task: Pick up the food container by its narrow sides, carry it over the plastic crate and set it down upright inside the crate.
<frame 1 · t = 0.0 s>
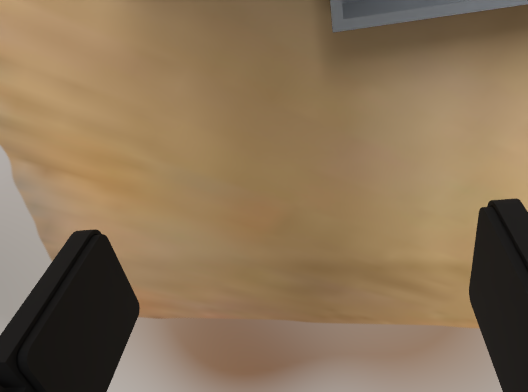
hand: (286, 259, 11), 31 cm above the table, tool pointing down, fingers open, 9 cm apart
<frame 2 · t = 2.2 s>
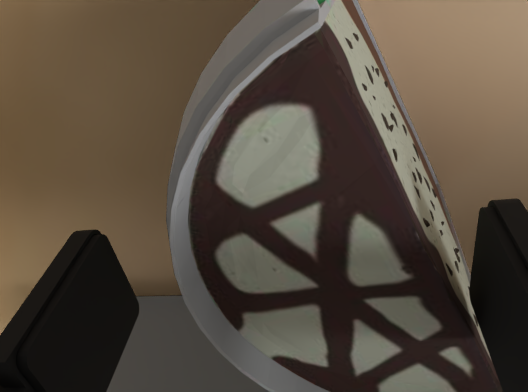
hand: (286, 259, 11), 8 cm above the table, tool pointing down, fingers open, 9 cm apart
food container: (324, 122, 18), on the table
crate: (245, 391, 30), on the table
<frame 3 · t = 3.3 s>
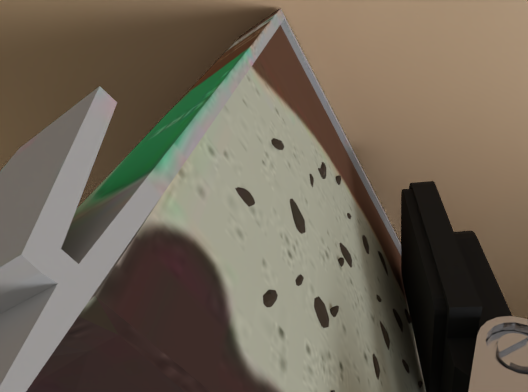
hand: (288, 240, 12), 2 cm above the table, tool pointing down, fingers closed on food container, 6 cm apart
food container: (265, 197, 14), on the table, touching gripper
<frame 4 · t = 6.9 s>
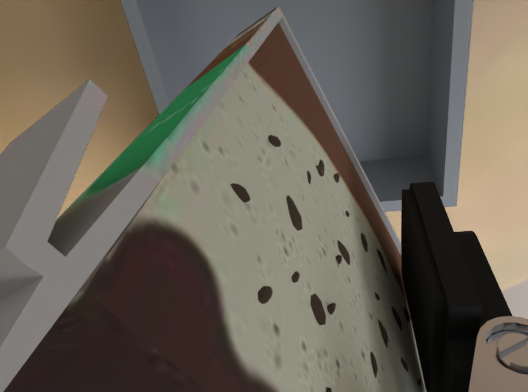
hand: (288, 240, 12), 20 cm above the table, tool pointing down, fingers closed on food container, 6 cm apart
food container: (264, 196, 14), point 18 cm above the table, touching gripper
crate: (303, 43, 28), on the table
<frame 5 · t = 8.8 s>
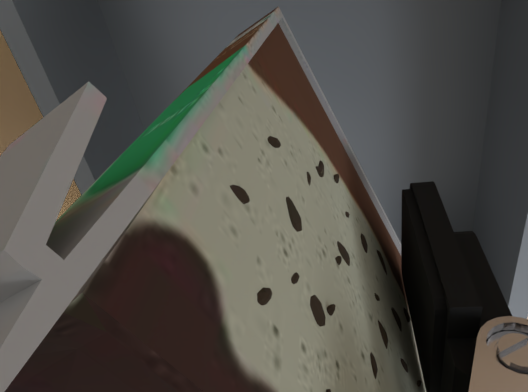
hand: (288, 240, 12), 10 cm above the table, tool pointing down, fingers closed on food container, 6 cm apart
food container: (264, 196, 14), point 8 cm above the table, touching gripper
crate: (304, 95, 20), on the table
when the fingers open (4 cm above the table, at t = 10.4 s): food container drops 1 cm, resting on crate.
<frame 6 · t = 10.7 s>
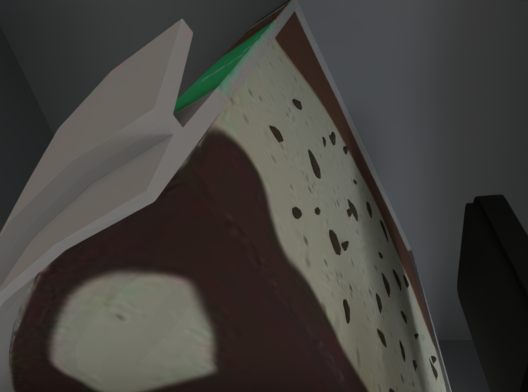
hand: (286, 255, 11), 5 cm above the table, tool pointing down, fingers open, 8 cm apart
food container: (274, 175, 15), point 1 cm above the table, touching crate
crate: (294, 162, 15), on the table
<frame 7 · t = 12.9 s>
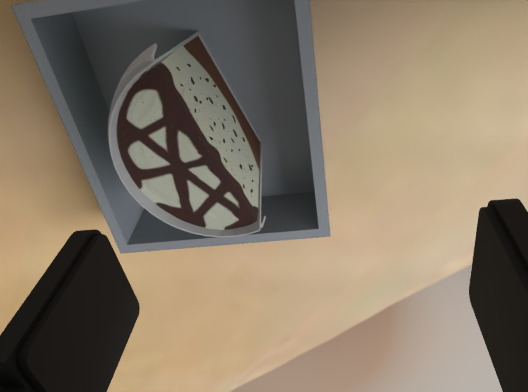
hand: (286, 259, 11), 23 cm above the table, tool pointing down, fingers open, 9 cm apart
food container: (197, 106, 33), point 1 cm above the table, touching crate
crate: (208, 101, 34), on the table
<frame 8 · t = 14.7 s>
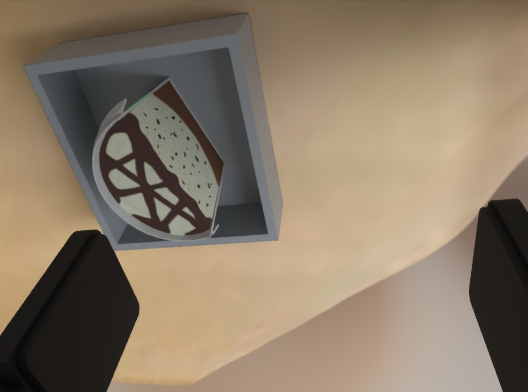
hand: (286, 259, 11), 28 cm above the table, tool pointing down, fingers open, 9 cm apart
food container: (172, 133, 41), point 1 cm above the table, touching crate
crate: (181, 129, 42), on the table
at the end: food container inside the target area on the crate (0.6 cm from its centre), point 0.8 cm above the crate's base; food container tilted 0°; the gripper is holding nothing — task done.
